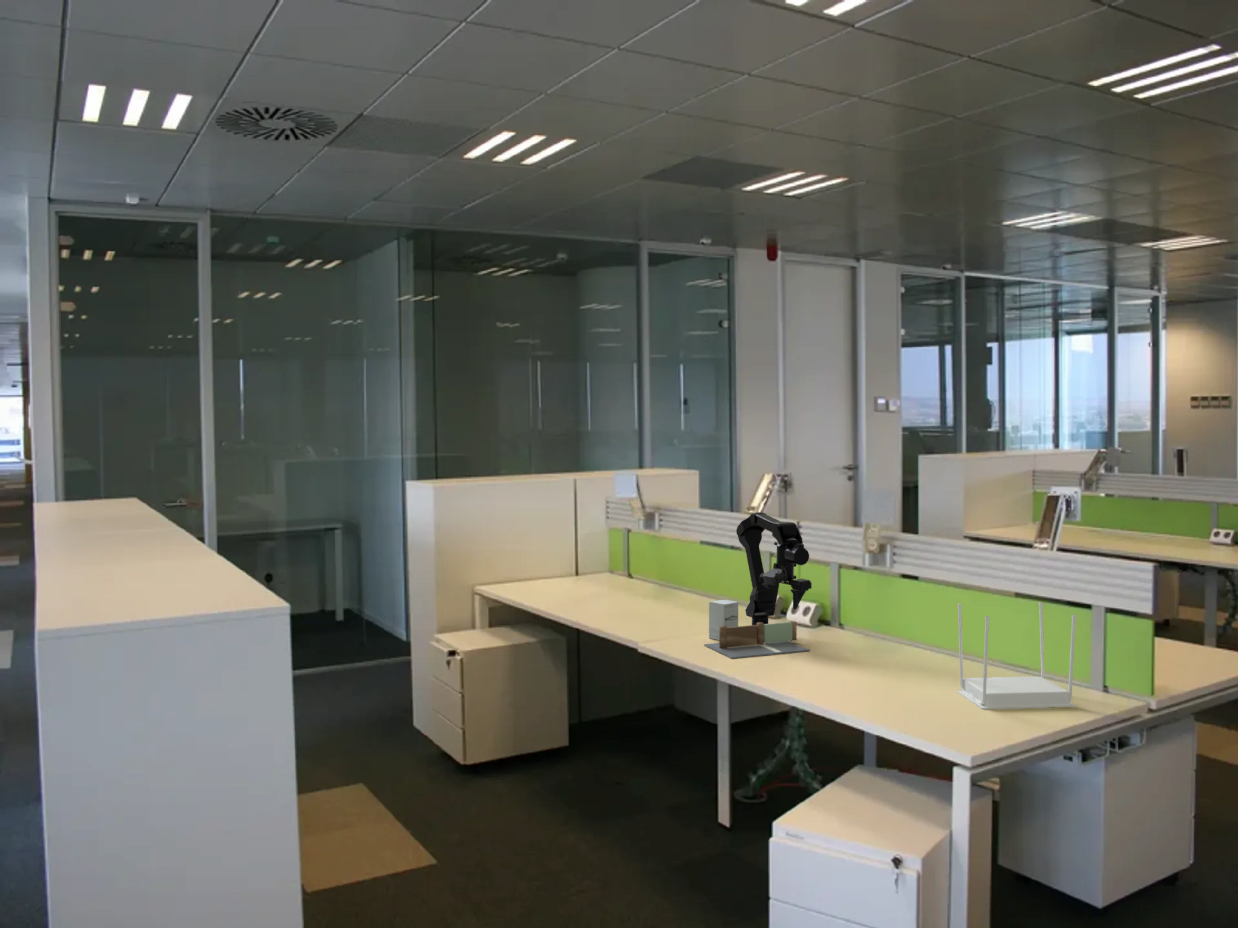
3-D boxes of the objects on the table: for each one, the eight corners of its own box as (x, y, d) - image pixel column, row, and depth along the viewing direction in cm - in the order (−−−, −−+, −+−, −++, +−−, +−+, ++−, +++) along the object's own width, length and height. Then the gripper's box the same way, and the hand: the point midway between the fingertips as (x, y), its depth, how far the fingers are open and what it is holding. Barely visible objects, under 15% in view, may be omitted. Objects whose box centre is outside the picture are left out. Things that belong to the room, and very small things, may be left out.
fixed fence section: (718, 647, 334) (718, 625, 334) (761, 643, 340) (761, 622, 340) (721, 648, 332) (721, 627, 332) (765, 644, 338) (765, 623, 337)
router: (1077, 708, 264) (1078, 615, 263) (982, 710, 262) (983, 617, 261) (1042, 688, 283) (1043, 601, 282) (953, 690, 282) (954, 603, 281)
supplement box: (723, 641, 345) (723, 604, 345) (708, 637, 351) (708, 601, 350) (739, 638, 350) (739, 601, 349) (723, 634, 356) (723, 598, 355)
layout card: (704, 645, 339) (704, 643, 339) (779, 638, 349) (779, 636, 349) (731, 658, 320) (731, 656, 320) (809, 651, 330) (809, 649, 330)
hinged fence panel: (762, 641, 340) (762, 623, 340) (794, 638, 344) (794, 621, 344) (765, 643, 338) (765, 625, 338) (797, 640, 342) (797, 622, 342)
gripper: (747, 558, 343) (747, 605, 344) (789, 566, 328) (788, 615, 329) (770, 555, 350) (770, 600, 351) (813, 563, 335) (812, 610, 336)
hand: (784, 606), depth 342 cm, fingers open, 9 cm apart
